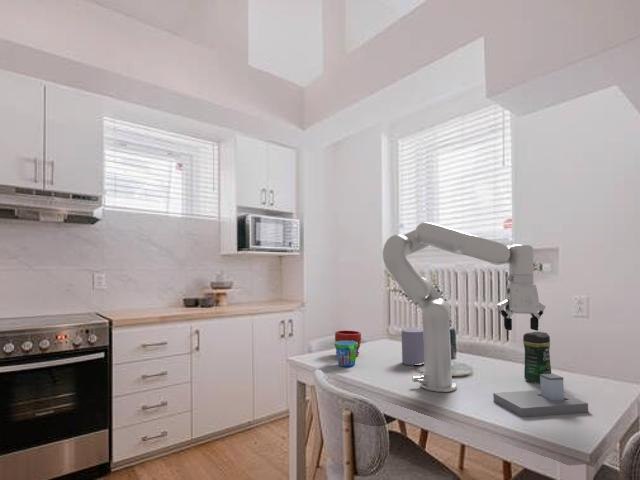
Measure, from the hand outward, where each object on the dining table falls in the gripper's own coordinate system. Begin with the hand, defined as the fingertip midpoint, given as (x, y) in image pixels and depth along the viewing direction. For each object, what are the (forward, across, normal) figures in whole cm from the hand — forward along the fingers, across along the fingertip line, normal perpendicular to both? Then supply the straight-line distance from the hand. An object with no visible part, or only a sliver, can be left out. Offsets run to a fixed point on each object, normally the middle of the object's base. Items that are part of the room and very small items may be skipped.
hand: (521, 329), depth 132 cm
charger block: (+22, +4, -10) cm, 24 cm away
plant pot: (+26, -47, +68) cm, 86 cm away
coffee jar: (+22, +17, +14) cm, 31 cm away
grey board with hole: (+22, -1, -10) cm, 24 cm away
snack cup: (+25, -52, +50) cm, 76 cm away
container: (+24, -20, +48) cm, 57 cm away
